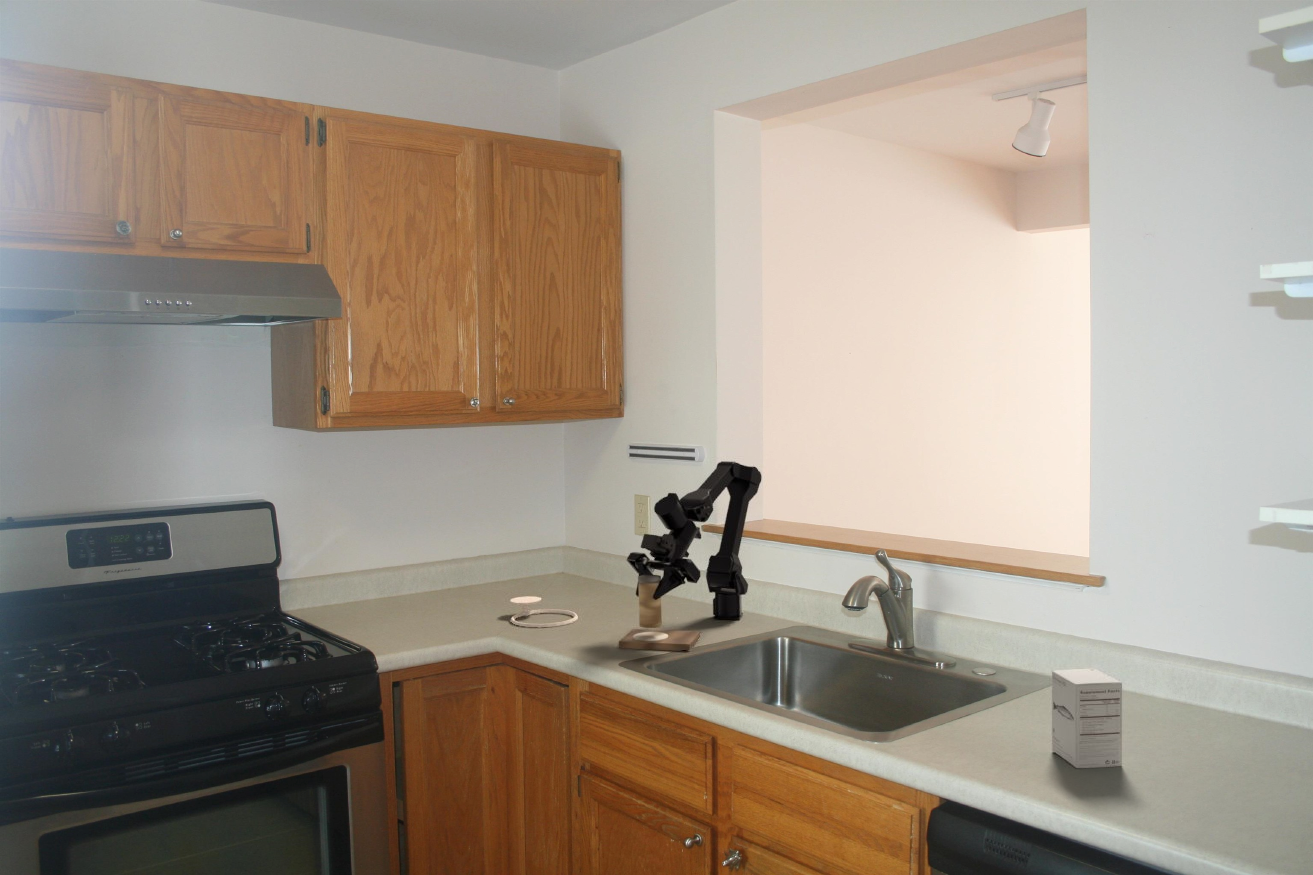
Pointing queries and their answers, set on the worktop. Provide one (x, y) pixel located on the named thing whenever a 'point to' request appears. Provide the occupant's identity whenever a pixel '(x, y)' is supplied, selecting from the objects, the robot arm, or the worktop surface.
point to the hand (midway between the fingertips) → (645, 597)
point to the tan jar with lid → (649, 602)
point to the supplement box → (1087, 718)
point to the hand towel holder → (538, 612)
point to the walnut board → (659, 639)
